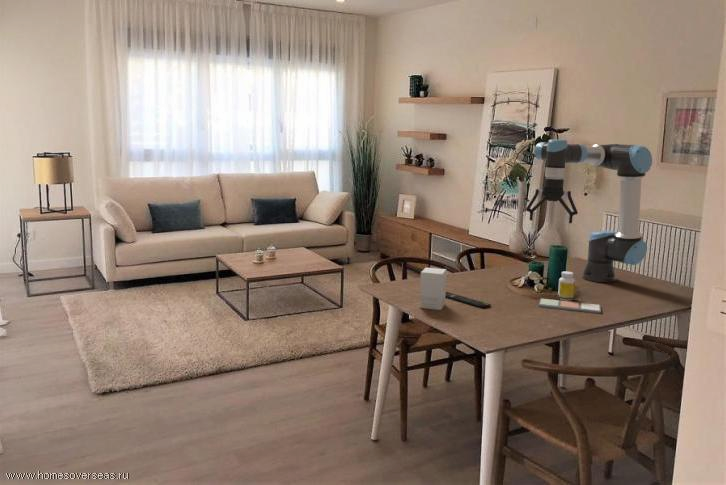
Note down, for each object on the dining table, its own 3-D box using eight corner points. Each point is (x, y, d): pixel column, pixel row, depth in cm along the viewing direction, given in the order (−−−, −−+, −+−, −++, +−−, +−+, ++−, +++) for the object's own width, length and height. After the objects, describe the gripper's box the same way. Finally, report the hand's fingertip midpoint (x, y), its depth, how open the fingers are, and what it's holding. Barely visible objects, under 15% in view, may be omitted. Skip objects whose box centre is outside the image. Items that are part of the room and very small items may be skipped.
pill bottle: (574, 301, 270) (576, 275, 267) (558, 300, 271) (560, 274, 268) (572, 297, 276) (574, 271, 273) (556, 296, 277) (559, 270, 275)
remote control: (446, 294, 278) (446, 291, 278) (491, 307, 261) (491, 304, 260) (438, 296, 274) (438, 293, 274) (483, 310, 257) (484, 307, 257)
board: (540, 300, 271) (540, 297, 271) (600, 306, 263) (600, 304, 263) (538, 306, 262) (538, 304, 261) (600, 313, 254) (601, 311, 254)
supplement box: (445, 304, 262) (447, 269, 259) (441, 310, 254) (442, 274, 251) (424, 301, 265) (425, 266, 262) (418, 307, 257) (420, 271, 254)
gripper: (522, 177, 258) (518, 228, 262) (587, 180, 251) (582, 233, 255) (523, 175, 265) (519, 225, 269) (586, 179, 258) (581, 230, 262)
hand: (549, 229), depth 262 cm, fingers open, 13 cm apart
